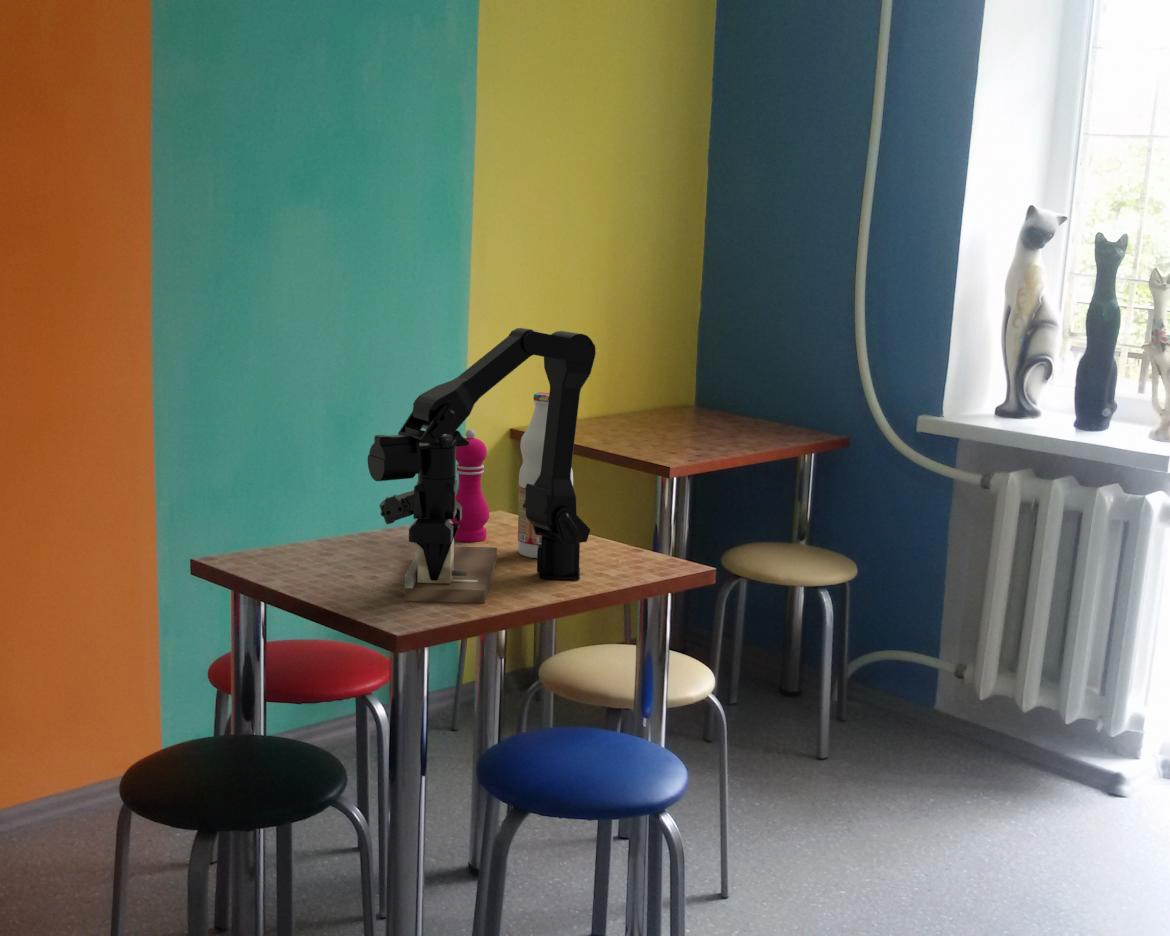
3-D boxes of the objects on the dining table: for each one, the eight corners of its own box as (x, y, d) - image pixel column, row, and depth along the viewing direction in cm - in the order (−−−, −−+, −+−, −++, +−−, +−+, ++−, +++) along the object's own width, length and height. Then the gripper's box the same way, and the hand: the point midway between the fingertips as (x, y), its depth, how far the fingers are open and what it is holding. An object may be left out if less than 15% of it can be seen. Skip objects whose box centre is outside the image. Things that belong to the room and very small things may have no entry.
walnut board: (496, 558, 236) (497, 536, 235) (484, 603, 208) (484, 577, 207) (426, 557, 236) (426, 534, 235) (404, 600, 208) (404, 575, 207)
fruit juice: (506, 553, 239) (509, 393, 235) (539, 544, 247) (543, 389, 242) (549, 562, 234) (553, 398, 229) (582, 553, 242) (586, 393, 237)
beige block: (467, 575, 215) (468, 538, 214) (464, 583, 210) (465, 545, 209) (421, 574, 215) (421, 536, 214) (417, 582, 210) (417, 544, 209)
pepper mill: (451, 543, 246) (452, 432, 243) (447, 534, 253) (448, 426, 250) (491, 542, 248) (493, 432, 244) (486, 533, 255) (487, 426, 251)
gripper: (392, 464, 219) (392, 559, 222) (374, 486, 201) (374, 590, 203) (462, 466, 219) (461, 561, 222) (450, 488, 201) (449, 592, 203)
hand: (436, 575), depth 213 cm, fingers closed on beige block, 5 cm apart
